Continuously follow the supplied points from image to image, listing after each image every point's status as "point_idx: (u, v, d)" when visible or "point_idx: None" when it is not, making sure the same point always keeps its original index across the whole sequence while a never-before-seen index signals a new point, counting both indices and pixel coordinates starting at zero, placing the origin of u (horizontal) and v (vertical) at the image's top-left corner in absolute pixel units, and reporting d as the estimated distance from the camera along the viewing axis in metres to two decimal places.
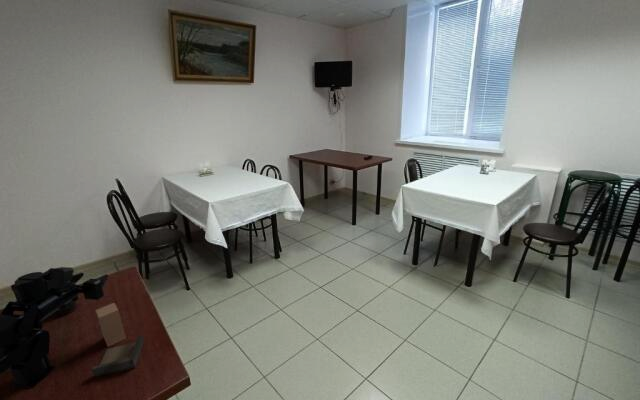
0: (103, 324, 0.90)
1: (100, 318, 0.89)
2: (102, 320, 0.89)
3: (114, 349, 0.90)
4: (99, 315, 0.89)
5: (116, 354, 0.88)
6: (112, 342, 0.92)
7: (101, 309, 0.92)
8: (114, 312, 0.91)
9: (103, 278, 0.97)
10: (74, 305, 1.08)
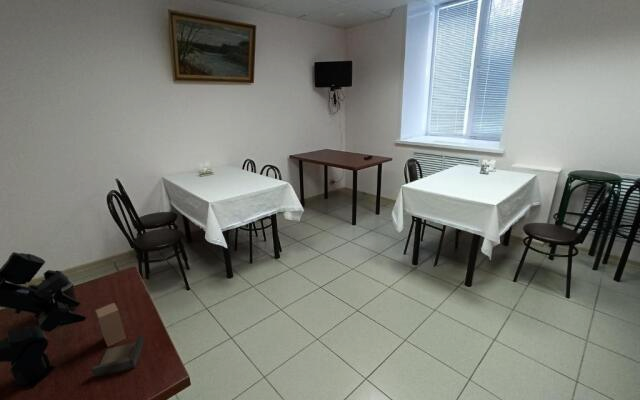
0: (103, 324, 0.90)
1: (100, 318, 0.89)
2: (102, 320, 0.89)
3: (114, 349, 0.90)
4: (99, 315, 0.89)
5: (116, 354, 0.88)
6: (112, 342, 0.92)
7: (101, 309, 0.92)
8: (114, 312, 0.91)
9: (77, 316, 0.82)
10: None
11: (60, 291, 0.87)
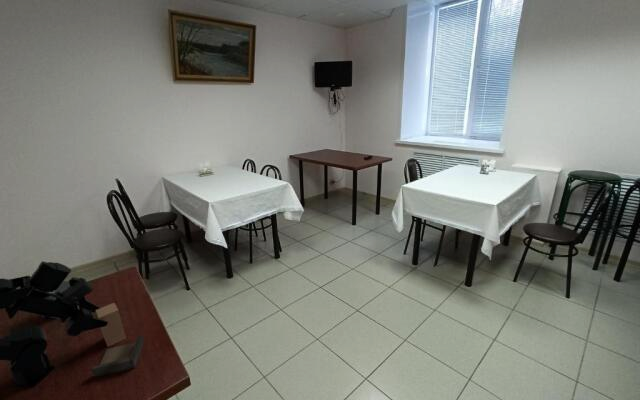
0: None
1: (100, 318, 0.89)
2: None
3: (114, 349, 0.90)
4: (99, 315, 0.89)
5: (116, 354, 0.88)
6: (112, 342, 0.92)
7: (101, 309, 0.92)
8: (114, 312, 0.91)
9: (100, 322, 0.86)
10: None
11: (83, 297, 0.91)
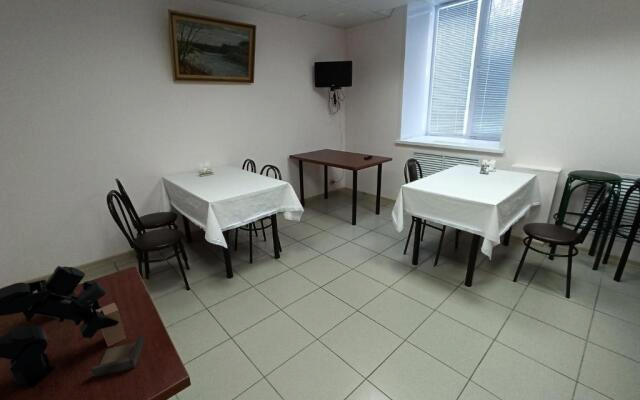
0: None
1: None
2: None
3: (114, 349, 0.90)
4: None
5: (116, 354, 0.88)
6: (112, 341, 0.92)
7: (101, 309, 0.92)
8: (114, 312, 0.91)
9: (111, 321, 0.90)
10: None
11: (97, 303, 0.92)
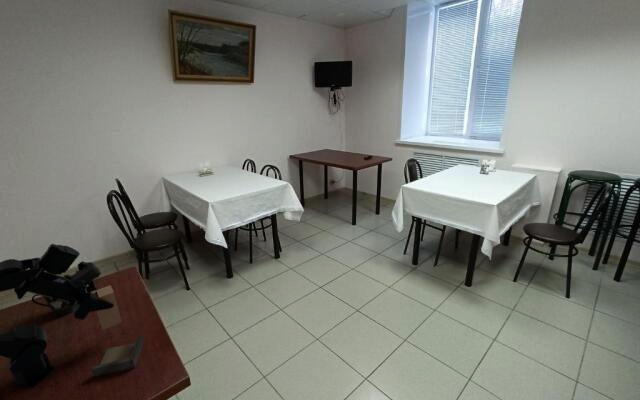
0: None
1: None
2: None
3: (114, 349, 0.90)
4: None
5: (116, 354, 0.88)
6: (107, 325, 0.90)
7: (97, 291, 0.89)
8: (109, 294, 0.88)
9: (105, 304, 0.87)
10: (74, 305, 1.08)
11: (93, 284, 0.90)
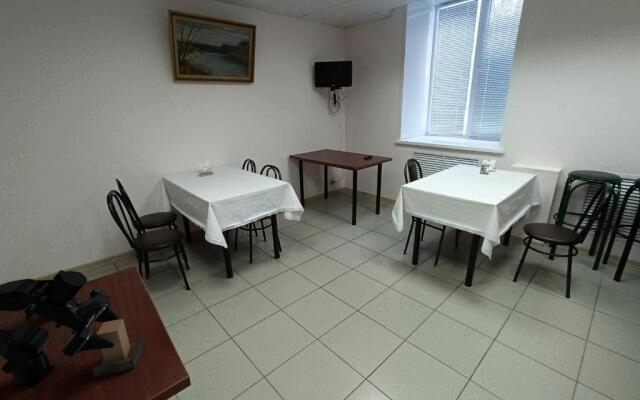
0: None
1: (98, 335, 0.81)
2: None
3: None
4: (99, 331, 0.82)
5: None
6: (110, 361, 0.85)
7: (107, 323, 0.85)
8: (113, 332, 0.82)
9: (104, 343, 0.80)
10: None
11: (107, 309, 0.87)
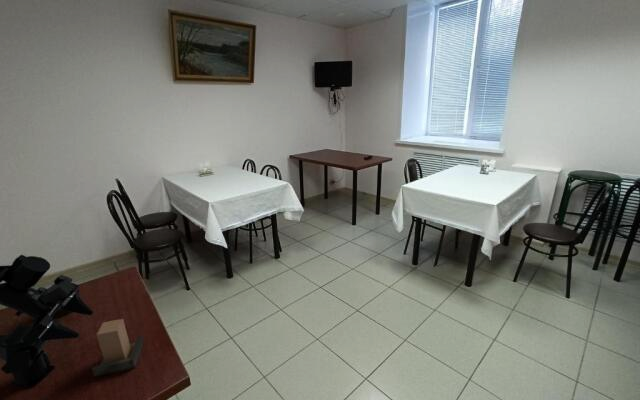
0: (101, 342, 0.82)
1: (98, 335, 0.81)
2: (100, 338, 0.82)
3: None
4: (99, 331, 0.82)
5: None
6: (110, 361, 0.85)
7: (107, 323, 0.85)
8: (113, 332, 0.82)
9: (67, 333, 0.76)
10: None
11: (75, 297, 0.84)
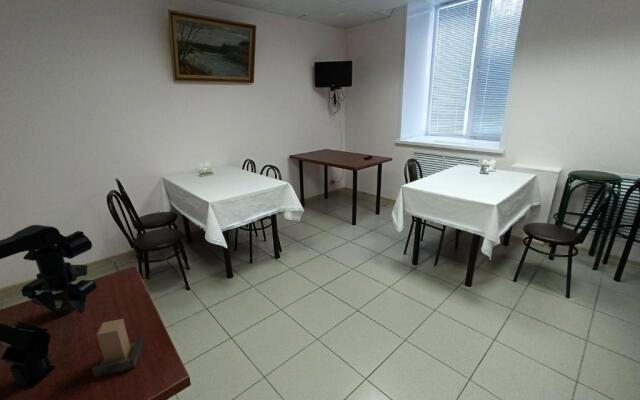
0: (101, 342, 0.82)
1: (98, 335, 0.81)
2: (100, 338, 0.82)
3: None
4: (99, 331, 0.82)
5: None
6: (110, 361, 0.85)
7: (107, 323, 0.85)
8: (113, 332, 0.82)
9: (83, 304, 0.89)
10: None
11: None
